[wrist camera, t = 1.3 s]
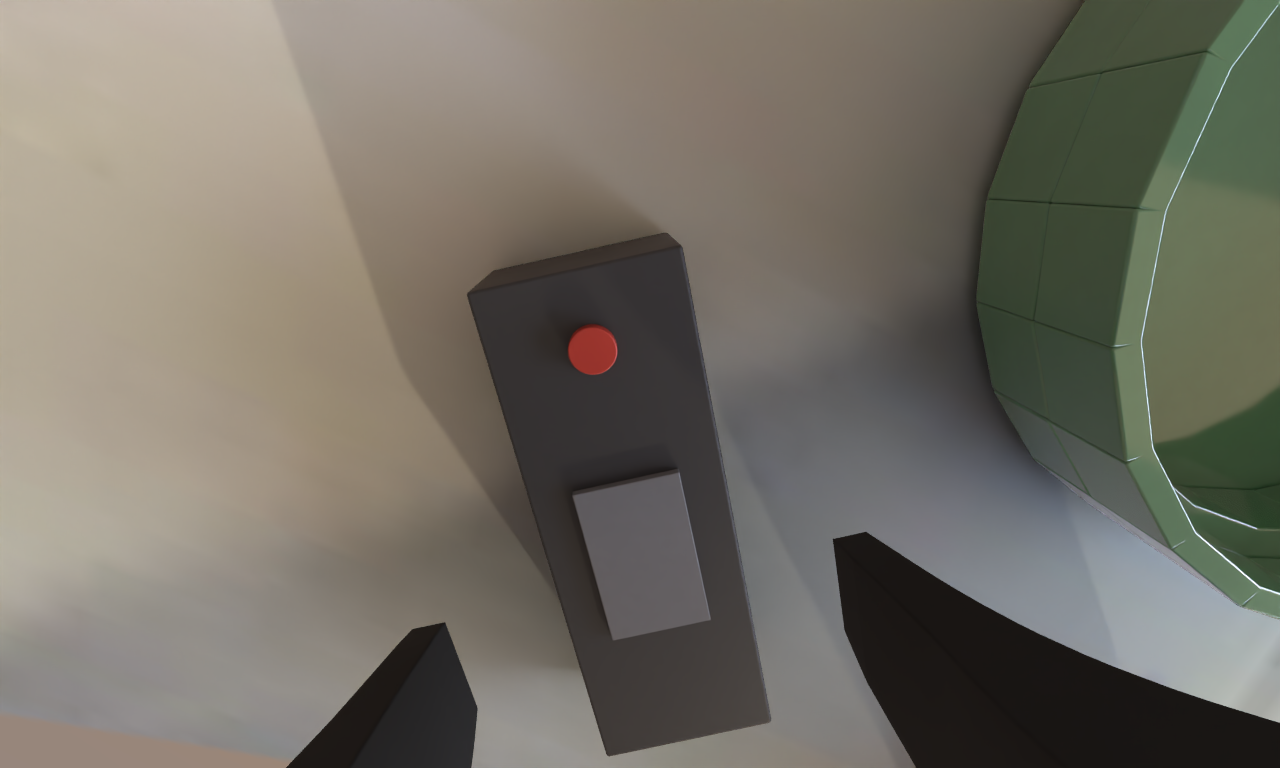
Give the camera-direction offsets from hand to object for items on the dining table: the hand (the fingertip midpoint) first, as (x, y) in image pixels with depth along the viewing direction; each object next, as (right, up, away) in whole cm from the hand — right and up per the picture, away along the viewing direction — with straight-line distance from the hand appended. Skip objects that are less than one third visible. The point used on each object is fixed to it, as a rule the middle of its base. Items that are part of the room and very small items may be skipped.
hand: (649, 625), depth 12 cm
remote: (0, +2, +6) cm, 6 cm away
